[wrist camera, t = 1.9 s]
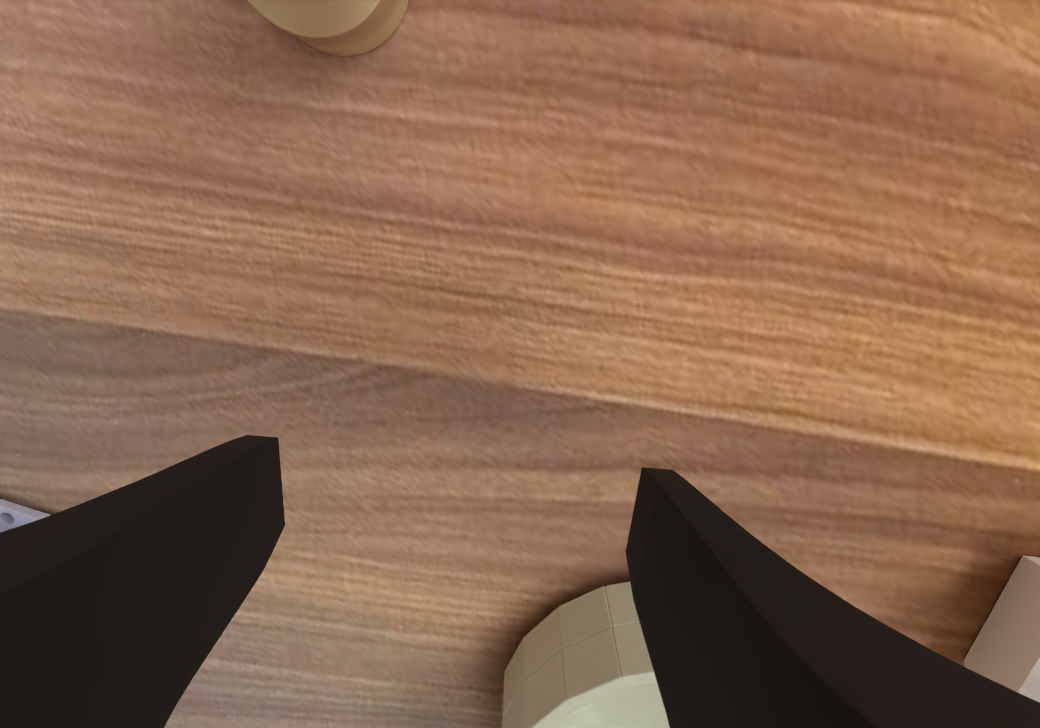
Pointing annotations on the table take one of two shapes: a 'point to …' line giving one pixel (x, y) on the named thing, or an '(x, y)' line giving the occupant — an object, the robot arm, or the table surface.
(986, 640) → the low-poly chess knight
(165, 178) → the table surface
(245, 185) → the table surface
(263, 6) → the stirrer
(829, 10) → the table surface
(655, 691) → the bowl
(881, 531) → the table surface
